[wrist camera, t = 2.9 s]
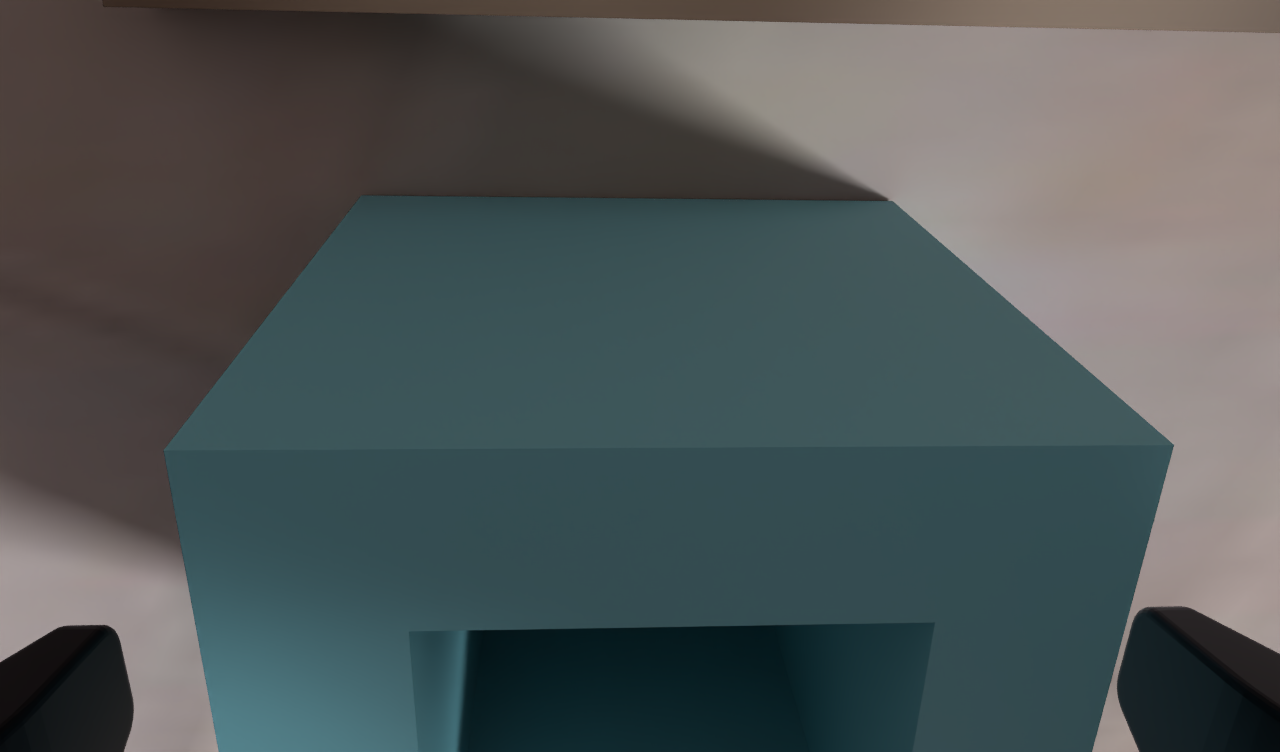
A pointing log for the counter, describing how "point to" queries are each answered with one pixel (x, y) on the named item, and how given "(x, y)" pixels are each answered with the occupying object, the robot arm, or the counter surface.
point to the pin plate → (822, 11)
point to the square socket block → (656, 491)
